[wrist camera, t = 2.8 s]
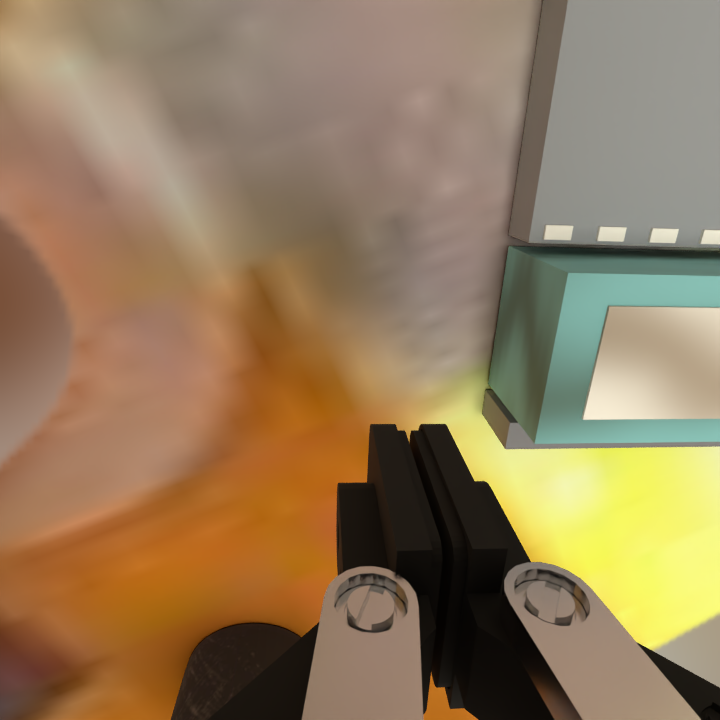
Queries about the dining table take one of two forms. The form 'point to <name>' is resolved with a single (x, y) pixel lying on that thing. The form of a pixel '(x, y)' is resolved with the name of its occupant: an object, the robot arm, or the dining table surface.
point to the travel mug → (228, 666)
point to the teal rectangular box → (610, 345)
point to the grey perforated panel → (619, 140)
